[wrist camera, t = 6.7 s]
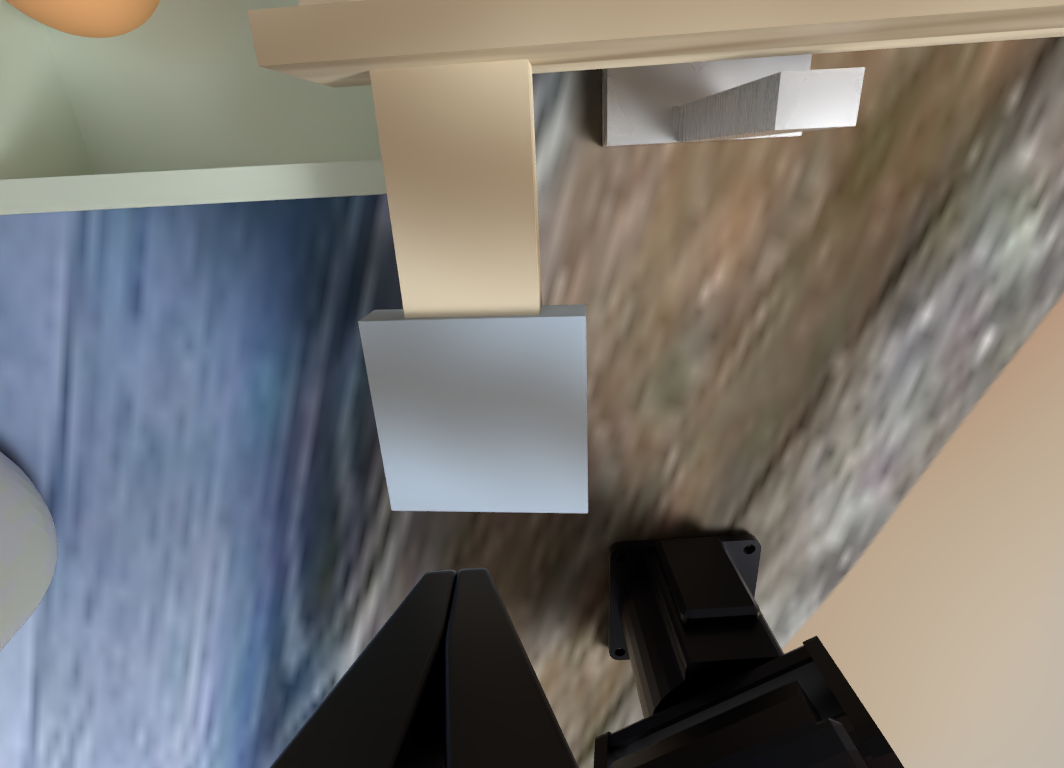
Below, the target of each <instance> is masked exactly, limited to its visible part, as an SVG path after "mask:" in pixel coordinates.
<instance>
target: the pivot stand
mask: <svg viewBox="0 0 1064 768" xmlns="http://www.w3.org/2000/svg"><path fill="white" fill-rule="evenodd" d="M811 57H812V54H804V55H789V56H775V57H761V58H747V59H733V60H719V61H704V62H690V63H676V64H662V65H648V66H634V67H619V68H605V69H602V147H609V146H627V145H646V144H665V143H684V142H703V141H721V140H740V139H759V138H778V137H792V136H801V135H802V132H803V131H813V130H822V129H831V128H841V127H850V126H856V121H857V114H858V108H859V102H860V96H861V90H862V84H863V77H864V71H865V67H860V68H840V69H821V70H810V65H811Z"/></svg>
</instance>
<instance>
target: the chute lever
mask: <svg viewBox="0 0 1064 768" xmlns="http://www.w3.org/2000/svg"><path fill="white" fill-rule="evenodd" d="M298 1H299V6H292V7H281V8H269V9H258V10H247V14H248V19H249V24H250V28H251V33H252V38H253V43H254V47H255V52H256V57H257V61H258V66H260V67H263V68H267V69H270V70H274V71H277V72H281V73H284V74H288V75H291V76H295V77H298V78H302V79H305V80H309V81H312V82H316V83H319V84H323V85H326V86H330V87H334V88H336V87H350V86H364V85H371V87H372V94H373V101H374V107H375V114H376V121H377V128H378V135H379V142H380V149H381V156H382V163H383V170H384V177H385V184H386V191H387V198H388V205H389V212H390V219H391V226H392V233H393V240H394V247H395V254H396V261H397V268H398V275H399V281H400V288H401V295H402V302H403V309H390V310H373V311H372V312H371V313H369V314H368V315H366V316H365V317H364V318H362V319H361V320H359V321H358V325H359V330H360V336H361V341H362V347H363V353H364V358H365V364H366V369H367V375H368V381H369V386H370V392H371V397H372V403H373V409H374V414H375V420H376V426H377V431H378V437H379V442H380V448H381V454H382V459H383V465H384V470H385V476H386V482H387V487H388V493H389V498H390V504H391V510H392V511H456V512H527V513H588V454H587V369H586V304H584V305H545V306H542V293H541V270H540V247H539V224H538V200H537V177H536V154H535V131H534V108H533V85H532V74H534V73H548V72H563V71H577V70H591V69H605V68H619V67H634V66H648V65H662V64H676V63H690V62H704V61H719V60H733V59H747V58H761V57H775V56H789V55H804V54H818V53H832V52H846V51H860V50H875V49H889V48H903V47H917V46H931V45H945V44H960V43H974V42H988V41H1002V40H1016V39H1030V38H1045V37H1059V36H1064V0H298Z"/></svg>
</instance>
